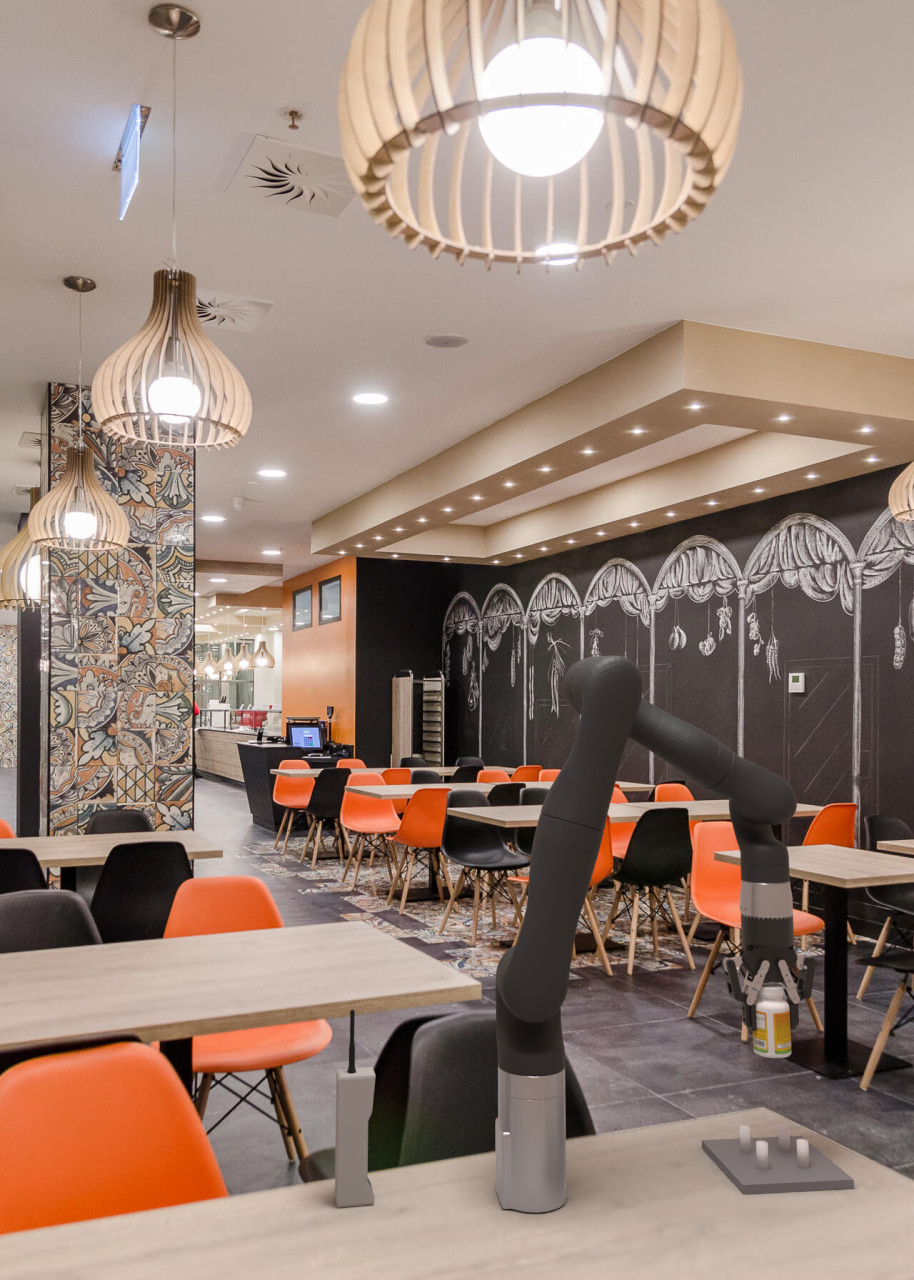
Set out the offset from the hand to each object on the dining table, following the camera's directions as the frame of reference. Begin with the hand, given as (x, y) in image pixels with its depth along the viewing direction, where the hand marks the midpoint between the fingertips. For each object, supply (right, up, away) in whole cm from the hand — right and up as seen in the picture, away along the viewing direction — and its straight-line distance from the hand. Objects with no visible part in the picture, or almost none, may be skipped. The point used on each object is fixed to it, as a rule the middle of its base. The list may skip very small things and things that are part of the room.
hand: (771, 1028), depth 147 cm
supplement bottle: (0, -4, -1) cm, 4 cm away
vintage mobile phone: (-60, -19, -13) cm, 64 cm away
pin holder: (0, -20, -2) cm, 20 cm away
